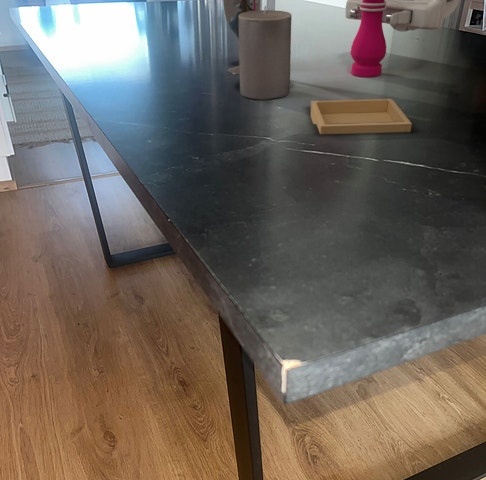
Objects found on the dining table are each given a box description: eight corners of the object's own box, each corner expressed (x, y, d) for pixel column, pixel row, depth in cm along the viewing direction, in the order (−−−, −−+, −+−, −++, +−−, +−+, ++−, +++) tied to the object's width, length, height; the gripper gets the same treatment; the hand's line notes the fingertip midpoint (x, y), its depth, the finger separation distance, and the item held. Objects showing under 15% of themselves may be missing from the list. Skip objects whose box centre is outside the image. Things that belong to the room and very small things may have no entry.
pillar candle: (250, 84, 107) (248, 1, 99) (296, 88, 104) (299, 2, 96) (232, 97, 100) (228, 9, 91) (281, 102, 97) (282, 11, 88)
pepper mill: (341, 73, 112) (350, -36, 100) (363, 67, 116) (374, -39, 104) (368, 80, 108) (380, -35, 96) (390, 73, 111) (405, -38, 100)
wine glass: (266, 67, 118) (267, -9, 109) (252, 76, 112) (251, -4, 104) (235, 64, 121) (232, -10, 112) (219, 72, 115) (215, -5, 106)
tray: (389, 113, 90) (391, 98, 89) (409, 140, 80) (412, 123, 78) (310, 116, 90) (311, 100, 89) (319, 143, 80) (320, 126, 78)
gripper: (368, -13, 117) (329, -5, 109) (454, -6, 105) (417, 3, 97) (365, 19, 120) (327, 28, 113) (448, 29, 108) (411, 40, 101)
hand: (369, 16), depth 105 cm, fingers open, 8 cm apart
